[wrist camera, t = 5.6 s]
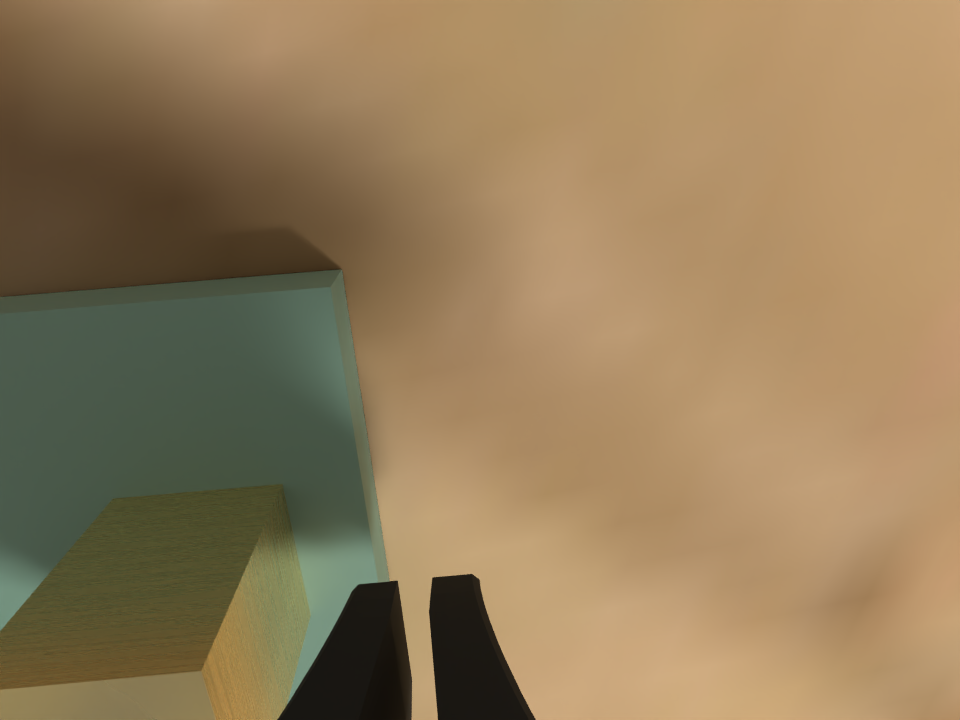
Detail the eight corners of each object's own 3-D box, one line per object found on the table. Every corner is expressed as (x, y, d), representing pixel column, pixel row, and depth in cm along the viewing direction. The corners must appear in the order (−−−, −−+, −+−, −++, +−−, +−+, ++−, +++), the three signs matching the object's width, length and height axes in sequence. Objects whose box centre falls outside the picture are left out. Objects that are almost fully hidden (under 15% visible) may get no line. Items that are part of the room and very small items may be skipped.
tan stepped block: (310, 615, 13) (252, 837, 9) (-1, 643, 12) (-196, 880, 9) (283, 483, 11) (201, 670, 8) (-60, 513, 11) (-314, 719, 8)
